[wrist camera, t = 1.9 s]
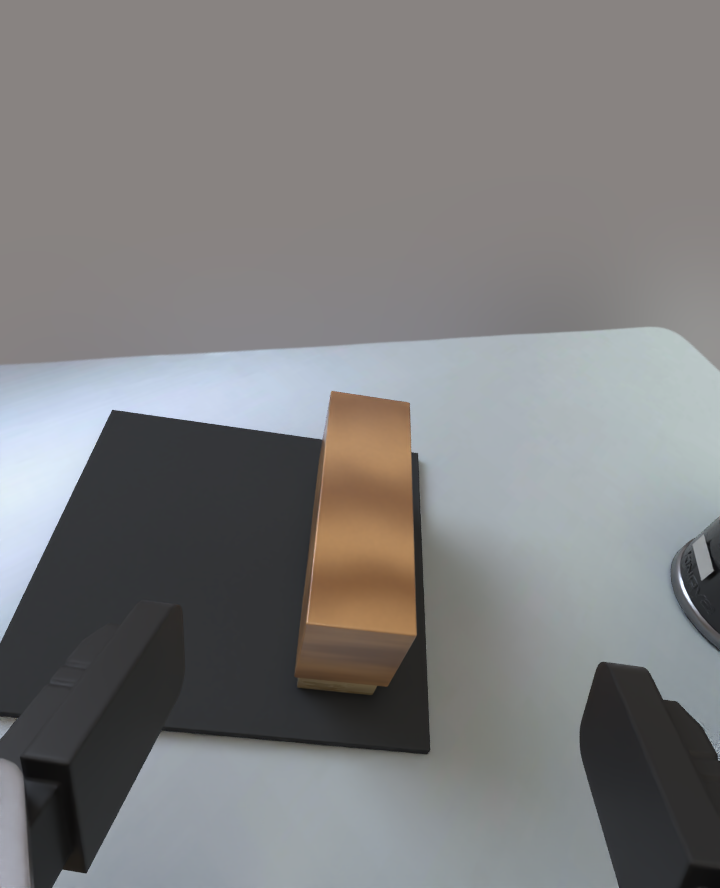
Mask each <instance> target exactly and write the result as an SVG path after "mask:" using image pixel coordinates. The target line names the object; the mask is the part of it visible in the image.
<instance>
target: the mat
mask: <svg viewBox="0 0 720 888" xmlns="http://www.w3.org/2000/svg"><path fill="white" fill-rule="evenodd" d="M321 446H322V440H321V439H314V438H307V437H300V436H293V435H285V434H278V433H271V432H264V431H257V430H250V429H243V428H236V427H229V426H222V425H215V424H208V423H201V422H194V421H187V420H180V419H173V418H166V417H159V416H152V415H145V414H138V413H131V412H124V411H117V410H112V412H111V414H110V416H109V418H108V420H107V422H106V424H105V426H104V428H103V430H102V432H101V435H100V437H99V439H98V441H97V443H96V445H95V447H94V449H93V451H92V453H91V455H90V457H89V460H88V462H87V464H86V466H85V468H84V470H83V472H82V474H81V476H80V478H79V480H78V482H77V485H76V487H75V489H74V491H73V493H72V495H71V497H70V499H69V501H68V503H67V505H66V507H65V510H64V512H63V514H62V516H61V518H60V520H59V522H58V524H57V526H56V528H55V530H54V532H53V535H52V537H51V539H50V541H49V543H48V545H47V547H46V549H45V551H44V553H43V555H42V557H41V560H40V562H39V564H38V566H37V568H36V570H35V572H34V574H33V576H32V578H31V580H30V582H29V585H28V587H27V589H26V591H25V593H24V595H23V597H22V599H21V601H20V603H19V605H18V607H17V610H16V612H15V614H14V616H13V618H12V620H11V622H10V624H9V626H8V628H7V630H6V632H5V635H4V637H3V639H2V641H1V643H0V716H10V717H19V716H20V715H21V714H22V713H23V712H24V710H25V709H26V708H27V707H28V705H29V704H30V703H31V702H32V701H33V699H34V698H35V697H36V696H37V695H38V693H39V692H40V691H41V690H42V689H43V687H44V686H45V685H46V684H49V683H50V679H51V678H52V676H53V675H54V674H55V673H56V672H57V670H58V669H59V668H60V667H61V666H64V664H65V661H66V660H67V658H68V657H69V656H70V655H71V654H72V652H73V651H74V650H75V649H76V647H77V646H78V645H79V644H80V643H81V641H82V640H83V639H85V638H86V637H88V636H89V635H91V634H92V633H94V632H95V631H97V630H98V629H100V628H101V627H103V626H105V625H106V624H108V623H111V624H118V625H120V624H121V623H122V622H123V621H124V619H125V618H126V617H127V615H128V614H129V613H130V611H131V610H132V609H133V607H134V606H135V605H136V604H137V603H138V602H139V601H141V600H147V601H155V602H162V603H170V604H178V605H180V606H181V608H182V613H183V630H184V650H185V675H184V681H183V685H182V688H181V692H180V694H179V697H178V699H177V701H176V703H175V705H174V707H173V709H172V711H171V713H170V715H169V717H168V718H167V720H166V722H165V724H164V726H163V728H162V730H166V731H177V732H188V733H199V734H210V735H222V736H233V737H244V738H255V739H266V740H277V741H288V742H299V743H311V744H322V745H333V746H344V747H355V748H366V749H377V750H388V751H399V752H411V753H422V754H428V752H429V751H430V734H429V710H428V686H427V661H426V637H425V613H424V588H423V564H422V539H421V515H420V491H419V466H418V453H412V452H411V459H412V492H413V525H414V557H415V590H416V623H417V636H416V638H415V640H414V641H413V643H412V645H411V647H410V648H409V650H408V652H407V654H406V655H405V657H404V659H403V661H402V662H401V664H400V666H399V668H398V669H397V671H396V673H395V674H394V676H393V678H392V680H391V681H390V683H389V685H388V686H387V687H385V686H377V687H376V689H375V691H374V693H373V695H366V694H355V693H345V692H335V691H325V690H315V689H305V688H298V687H297V681H298V678H296V677H294V673H295V664H296V655H297V647H298V638H299V629H300V621H301V612H302V603H303V595H304V586H305V578H306V569H307V560H308V552H309V543H310V534H311V526H312V517H313V508H314V500H315V491H316V482H317V474H318V465H319V457H320V451H321Z"/></svg>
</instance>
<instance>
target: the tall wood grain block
mask: <svg viewBox="0 0 720 888" xmlns="http://www.w3.org/2000/svg"><path fill="white" fill-rule="evenodd" d="M416 636H417V623H416V590H415V557H414V525H413V492H412V459H411V426H410V403H408V402H402V401H395V400H388V399H382V398H375V397H368V396H362V395H355V394H348V393H342V392H335V391H332V392H331V395H330V400H329V406H328V412H327V417H326V423H325V429H324V434H323V440H322V446H321V451H320V457H319V465H318V474H317V482H316V491H315V500H314V508H313V517H312V526H311V534H310V543H309V552H308V560H307V569H306V578H305V586H304V595H303V603H302V612H301V621H300V629H299V638H298V647H297V655H296V664H295V673H294V677H296V678H298V681H297V687H298V688H305V689H315V690H325V691H335V692H345V693H355V694H366V695H373V693H374V691H375V689H376V687H377V686H385V687H387V686H388V685H389V683H390V681H391V680H392V678H393V676H394V674H395V673H396V671H397V669H398V668H399V666H400V664H401V662H402V661H403V659H404V657H405V655H406V654H407V652H408V650H409V648H410V647H411V645H412V643H413V641H414V640H415V638H416Z"/></svg>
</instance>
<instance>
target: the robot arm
mask: <svg viewBox="0 0 720 888" xmlns="http://www.w3.org/2000/svg"><path fill="white" fill-rule="evenodd" d="M671 580H672V585H673V589H674V592H675V595H676V597H677V600H678V602H679V604H680V605H681V607H682V609H683V611H684V612H685V614H686V615H687V617H688V618H689V620H690V621H691V622H692V623H693V625H694V626H695V627H696V628H697V629H698V630H699V631H700V632H701V633H702V634H703V635H704V636H705V637H706V638H707V639H708V640H709V641H710V642H711V643H712V644H714V645H715V646H716V647H717V648H719V649H720V516H719V517H718V518H717V519H716V520H715V521H714V522H712V523H711V524H710V525H709V526H708V527H707V528H706V529H705V530H704V531H702V532H701V533H700V534H699V535H698V536H697V537H696V538H694V539H692V540H691V541H689V542H688V543H687V544H686V545H685V546H684V547H682V548H681V549H680V550H679V551H678V552H677V554H676V555H675V557H674V559H673V562H672V566H671ZM184 675H185V650H184V630H183V613H182V608H181V606H180V605H178V604H170V603H162V602H155V601H147V600H141V601H139V602H138V603H137V604H136V605H135V606H134V607H133V609H132V610H131V611H130V613H129V614H128V615H127V617H126V618H125V619H124V621H123V622H122V623H121V624H120V625H118V624H111V623H108V624H106V625H105V626H103V627H101V628H100V629H98V630H97V631H95V632H94V633H92V634H91V635H89V636H88V637H86V638H85V639H83V640H82V641H81V643H80V644H79V645H78V646H77V647H76V649H75V650H74V651H73V652H72V654H71V655H70V656H69V657H68V658H67V660H66V661H65V664H64V666H61V667H60V668H59V669H58V670H57V672H56V673H55V674H54V675H53V676H52V678H51V679H50V683H49V684H46V685H45V686H44V687H43V689H42V690H41V691H40V692H39V693H38V695H37V696H36V697H35V698H34V699H33V701H32V702H31V703H30V704H29V705H28V707H27V708H26V709H25V710H24V712H23V713H22V714H21V715H20V716H19V718H18V719H17V720H16V721H15V722H14V724H13V725H12V726H11V727H10V728H9V730H8V731H7V732H6V733H5V735H4V736H3V737H2V738H1V739H0V888H52V887H53V885H54V883H55V881H56V879H57V878H58V876H59V874H60V872H61V871H62V869H63V870H69V871H75V872H81V873H87V871H88V869H89V867H90V866H91V864H92V862H93V860H94V858H95V856H96V854H97V852H98V850H99V848H100V846H101V845H102V843H103V841H104V839H105V837H106V835H107V833H108V831H109V829H110V827H111V825H112V823H113V822H114V820H115V818H116V816H117V814H118V812H119V810H120V808H121V806H122V804H123V802H124V801H125V799H126V797H127V795H128V793H129V791H130V789H131V787H132V785H133V783H134V781H135V780H136V778H137V776H138V774H139V772H140V770H141V768H142V766H143V764H144V762H145V760H146V759H147V757H148V755H149V753H150V751H151V749H152V747H153V745H154V743H155V741H156V739H157V738H158V736H159V734H160V732H161V730H162V728H163V726H164V724H165V722H166V720H167V718H168V717H169V715H170V713H171V711H172V709H173V707H174V705H175V703H176V701H177V699H178V697H179V694H180V692H181V688H182V685H183V681H184ZM580 751H581V757H582V761H583V765H584V768H585V772H586V775H587V779H588V782H589V785H590V789H591V792H592V796H593V799H594V803H595V806H596V809H597V813H598V816H599V820H600V823H601V826H602V830H603V833H604V837H605V840H606V844H607V847H608V850H609V854H610V857H611V861H612V864H613V868H614V871H615V874H616V878H617V881H618V885H619V888H720V761H718V758H717V756H718V755H717V753H716V751H715V750H714V748H713V746H712V744H711V742H710V741H709V739H708V737H707V735H706V733H705V731H704V730H703V728H702V727H701V725H700V724H699V723H698V722H697V721H696V720H695V719H694V718H693V717H692V716H691V715H690V714H689V713H688V712H687V711H686V710H685V709H684V708H683V707H682V706H681V705H680V704H679V703H678V702H676V701H669V700H663V698H662V696H661V694H660V692H659V690H658V688H657V686H656V684H655V682H654V680H653V678H652V676H651V675H650V673H649V671H648V670H647V669H646V668H644V667H638V666H631V665H623V664H616V663H608V662H601V663H600V664H599V665H598V667H597V669H596V672H595V675H594V679H593V682H592V686H591V689H590V693H589V696H588V700H587V703H586V707H585V710H584V714H583V717H582V721H581V726H580Z"/></svg>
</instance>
